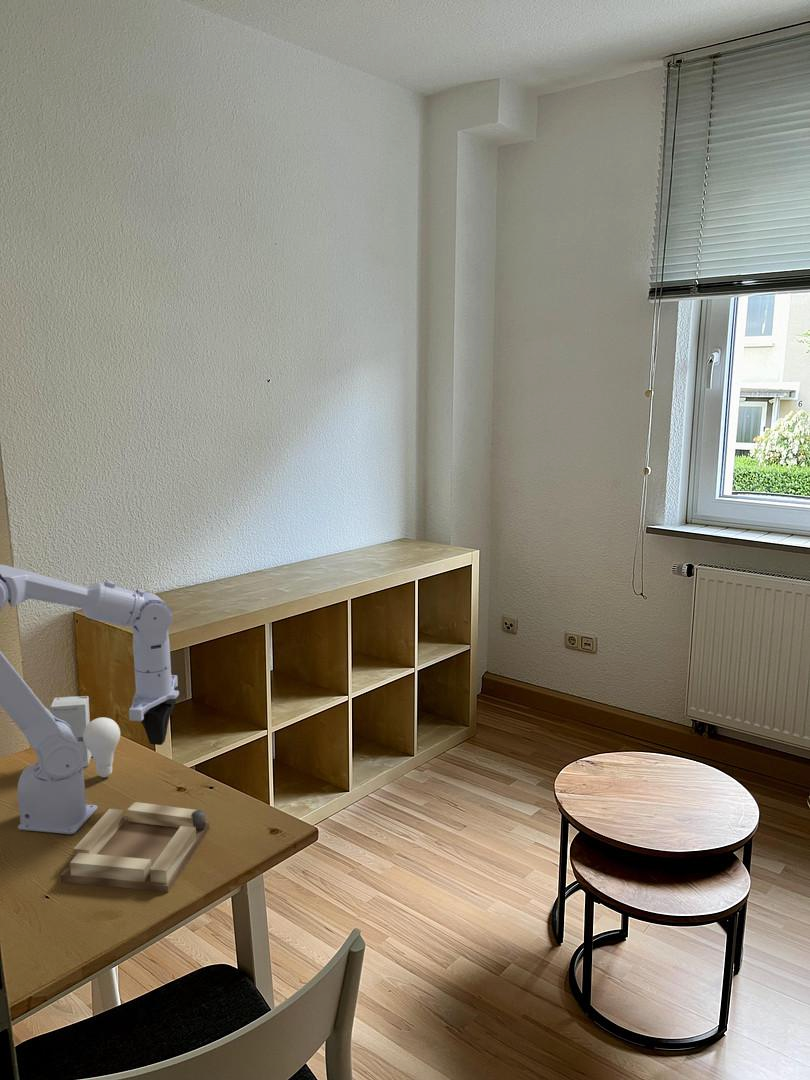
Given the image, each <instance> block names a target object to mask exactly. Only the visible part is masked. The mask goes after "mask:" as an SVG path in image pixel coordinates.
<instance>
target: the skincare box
mask: <svg viewBox="0 0 810 1080" xmlns="http://www.w3.org/2000/svg"><path fill="white" fill-rule="evenodd" d="M89 700H90V698H89V696H88V695H84V696H83V695H82V696H76V695H75V696H64V697H63V696H62V697H59V696H58V697H54V698H53V700H52V703H51V705H50V706H49V707H50V709H49V711H50V712H51V713H52V714H53V716H55V717H56V718H58V719H60V720H63V721H65V722H67V723H68V724H69V725H70V727H71V729H72V732H73V735H74V737H75V739H76V740H77V742H78V744H79V745H80V746H81V747H82V749H83V753H84V758H83V768H86V767H89V765H90V761H91V759H92V757H93V755H92V754H91V752H90V751H89V749H88V748H87V747H86V745H85V743H84V740H83V734H84V730H85V728H86V726H87V725H88V724H89V723H90V722H91V721H90V720H91V719H90V718H91V716H90V702H89Z"/></svg>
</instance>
